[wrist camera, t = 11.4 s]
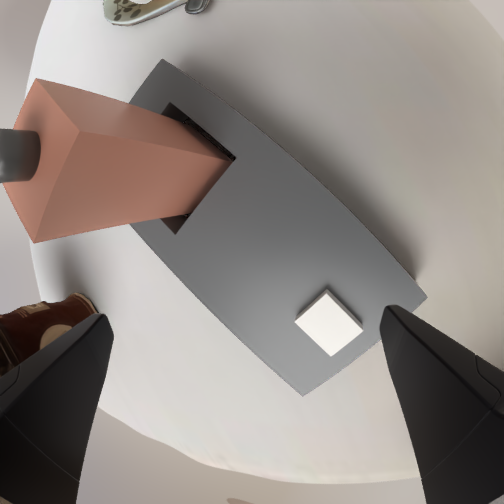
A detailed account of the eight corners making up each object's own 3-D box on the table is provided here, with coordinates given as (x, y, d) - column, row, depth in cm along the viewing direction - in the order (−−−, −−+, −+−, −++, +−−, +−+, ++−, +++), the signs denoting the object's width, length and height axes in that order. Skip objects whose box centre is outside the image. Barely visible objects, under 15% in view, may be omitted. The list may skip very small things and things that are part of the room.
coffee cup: (117, 306, 24) (2, 368, 12) (114, 371, 27) (27, 437, 14) (61, 270, 26) (-41, 306, 14) (62, 333, 28) (-21, 377, 16)
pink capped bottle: (235, 163, 19) (38, 126, 5) (196, 212, 20) (0, 251, 7) (191, 126, 19) (5, 72, 6) (157, 174, 21) (-30, 175, 7)
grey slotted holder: (415, 282, 17) (431, 302, 13) (308, 372, 20) (300, 404, 17) (183, 72, 19) (155, 54, 15) (112, 173, 22) (79, 172, 18)
